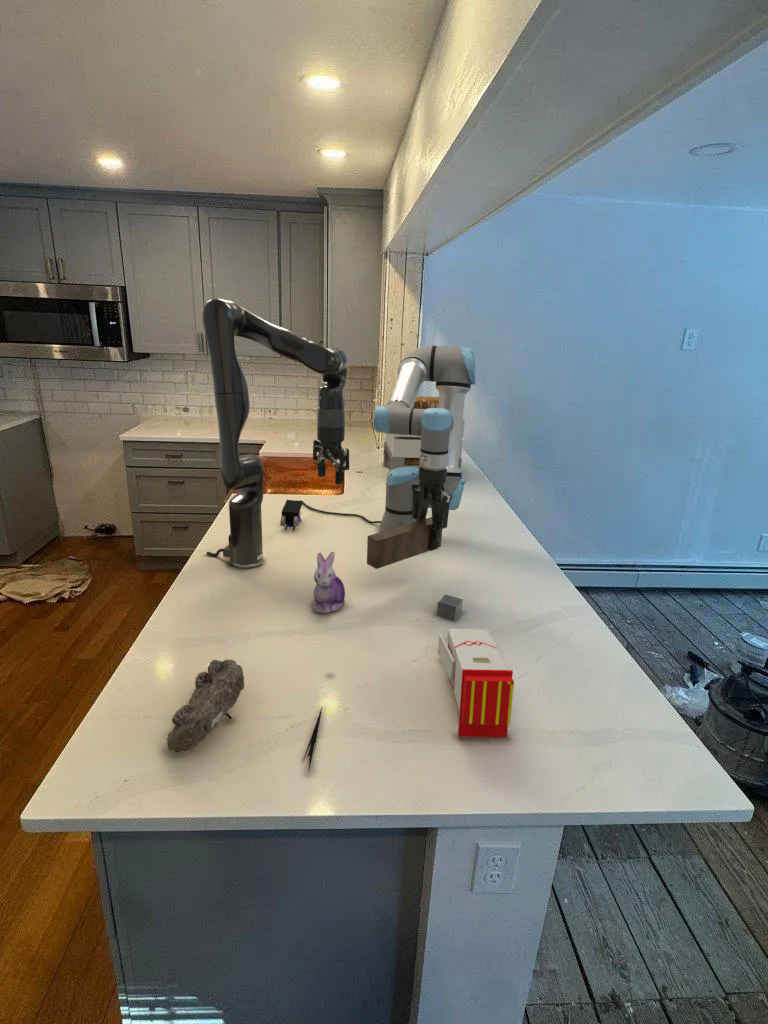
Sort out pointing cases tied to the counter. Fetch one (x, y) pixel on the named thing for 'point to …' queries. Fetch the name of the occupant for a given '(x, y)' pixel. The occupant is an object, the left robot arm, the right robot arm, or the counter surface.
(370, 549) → the walnut bar
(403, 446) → the white slatted crate
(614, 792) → the counter surface
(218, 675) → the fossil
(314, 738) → the feather
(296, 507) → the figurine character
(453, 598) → the slate block
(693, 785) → the counter surface
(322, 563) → the figurine
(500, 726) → the toy
